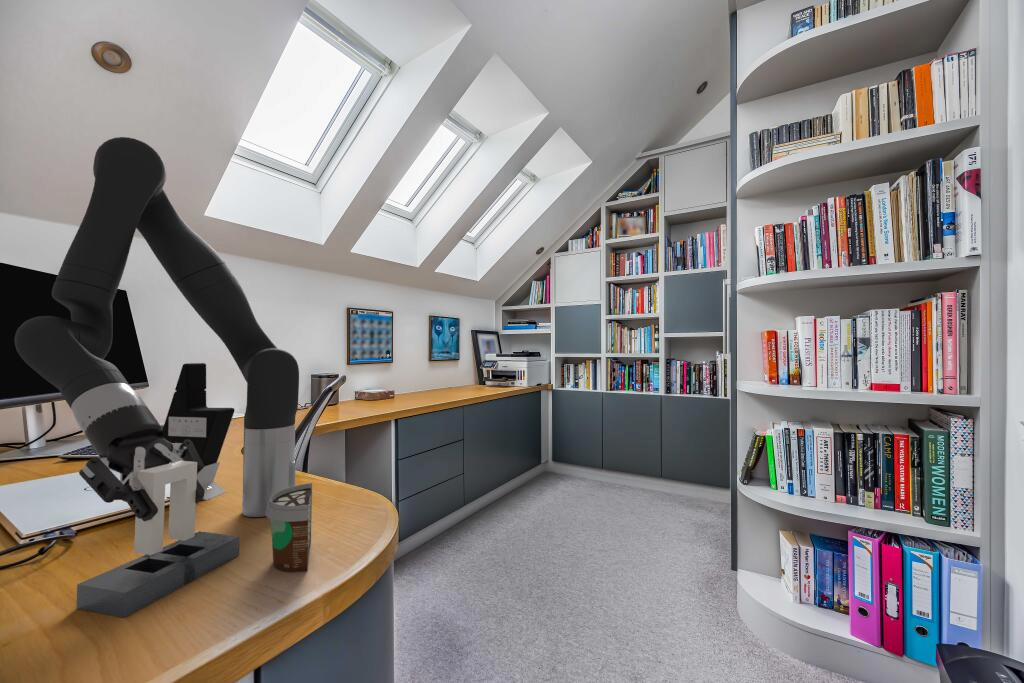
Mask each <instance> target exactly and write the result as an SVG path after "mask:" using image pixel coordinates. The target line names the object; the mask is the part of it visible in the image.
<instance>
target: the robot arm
mask: <svg viewBox="0 0 1024 683" xmlns="http://www.w3.org/2000/svg"><path fill="white" fill-rule="evenodd" d="M92 166H93V167H92V170H93V177H94V184H93V188H92V193H91V196H90V199H89V203H88V206H87V208H86V211H85V213H84V216H83V218H82V221H81V222H80V225H79V226H78V229H77V231H76V234H75V235H74V237H73V239H72V241H71V244H70V245H69V248H68V250H67V253H66V255H65V256H64V259H63V262H62V264H61V266H60V269H59V271H58V274H57V276H56V278H55V281H54V283H53V286H52V290H51V296H52V298H53V300H55V301H56V302H57V303H59V304H61V305H62V306H64V307H65V308H67V309H68V310H69V312H70V319H71V320H69V319H66V318H62V317H57V316H52V315H43V316H42V315H40V316H39V315H38V316H35V317H32V318H29V319H28V320H27V319H26V320H25V321H24V322H23V323H22V324H21V325H20V326H18V328H17V330H16V332H15V335H14V346H15V349H16V353H18V355H19V357H20V358H21V359H22V360H23V361H24V362H25V363H26V364H27V365H28V366H29V367H30V368H31V369H32V370H33V371H35V372H36V373H37V374H38V375H40V376H41V377H42V378H43V379H44V380H46V382H48V383H50V384H51V385H53V386H54V387H55V388H57V390H58V391H59V393H60V394H61V396H62V397H63V399H64V400H65V402H66V404H67V405H68V406H69V408H70V409H71V412H72V414H73V416H74V418H75V419H74V420H76V423H77V425H78V427H79V428H80V430H81V431H82V433H83V434H84V436H85V438H86V439H87V440H88V441H89V443H90V445H91V446H92V448H93V449H94V451H95V452H96V454H97V456H98V457H97V456H95V457H90V458H89V460H87V461H86V463H85V464H84V465H83V467H81V469H80V470H79V472H78V474H79V476H80V477H81V478H82V479H83V480H84V481H85V483H87V484H88V485H89V487H90V488H91V489H92V490H93V491H94V492H95V493H96V494H97V495H98V497H100V498H101V500H102V501H103V502H105V503H113V502H115V501H123V502H125V503H127V505H128V506H129V508H130V509H131V511H132V512H133V514H134V515H135V516H134V517H135V518H136V517H138V518H139V519H141V518H142V520H143V521H148V520H151V519H152V518H153V517H154V516H155V515H156V514H157V512H158V508H157V506H156V505H155V503H154V502H153V501H152V500H151V498H150V497H149V495H148V494H147V492H146V491H145V490H141V488H142V484H141V482H140V481H139V479H138V478H137V473H138V471H141V470H145V469H149V468H153V467H158V466H162V465H166V464H170V463H174V462H178V461H191V462H197V474H198V473H199V472H200V471H201V470H202V469H203V468H204V464H203V462H202V460H201V458H200V456H199V454H198V452H197V450H196V448H195V446H194V444H193V442H192V441H191V440H188V439H187V440H185V441H184V442H183V443H171V442H169V441H167V440H166V439H165V438H164V437H163V431H162V430H163V427H162V426H161V424H160V423H159V421H158V420H157V419H156V417H155V416H154V414H153V413H152V411H151V410H150V409H149V407H148V406H147V404H146V402H145V401H144V400H143V398H142V397H141V396H140V395H139V393H137V391H135V390H134V389H133V387H131V385H130V384H129V382H128V381H127V379H126V378H125V376H124V375H123V374H122V372H121V371H120V370H119V369H118V367H117V366H116V365H115V364H113V363H111V361H110V362H109V361H107V360H105V358H106V357H107V356H108V353H109V352H110V350H111V348H112V346H113V345H112V344H113V332H114V331H113V328H114V327H113V326H114V325H113V323H114V322H113V320H114V319H113V314H114V313H113V311H114V310H113V302H114V300H115V298H116V294H117V292H118V289H119V286H120V283H121V281H122V277H123V274H124V271H125V268H126V265H127V261H128V258H129V253H130V251H131V246H132V243H133V239H134V236H135V233H136V229H137V231H138V232H139V233H140V234H141V236H142V237H143V238H144V240H145V241H146V243H147V245H148V247H149V248H150V249H151V251H152V253H153V255H154V256H155V257H156V259H157V260H158V262H159V263H160V265H161V267H162V268H163V269H164V271H165V273H166V274H167V275H168V276H169V278H170V280H172V283H173V284H175V286H176V288H177V289H178V290H179V291H180V293H181V294H182V296H183V297H184V298H185V300H186V301H187V302H188V303H189V305H190V306H191V307H192V308H193V310H194V311H195V312H196V314H198V315H199V317H200V318H201V319H202V320H203V322H204V323H205V324H206V325H208V327H209V328H210V329H211V330H212V331H213V333H215V334H216V335H217V337H218V338H219V339H220V340H221V341H222V343H223V344H224V346H225V347H226V348H227V351H228V352H229V353H230V356H232V358H233V360H234V362H235V363H236V365H237V367H238V369H239V370H240V373H241V375H242V376H243V379H244V380H245V381H246V406H245V412H244V417H243V452H242V453H243V457H242V459H243V464H242V501H241V502H242V503H241V507H242V509H241V510H242V512H241V513H242V515H243V516H245V517H249V518H260V517H261V518H262V517H267V516H266V515H265V513H266V509H267V505H268V502H269V500H270V498H271V496H272V495H273V494H275V493H276V492H278V491H281V490H283V489H286V488H289V487H293V486H296V461H295V458H296V457H295V455H296V453H295V452H296V450H295V449H296V415H297V412H298V408H299V394H300V392H299V391H300V390H299V388H300V369H299V365H298V362H297V360H296V358H295V356H294V355H292V354H291V353H290V352H288V351H286V350H285V349H281V348H278V347H277V346H276V345H275V344H274V342H272V340H271V339H270V338H269V337H268V335H267V334H266V333H265V331H264V330H263V329H262V327H261V326H260V324H259V323H258V321H257V319H256V316H255V315H254V313H253V310H252V308H251V306H250V303H249V300H248V298H247V296H246V293H245V292H244V290H243V288H242V286H241V284H240V283H239V281H238V279H237V278H236V276H235V275H234V273H233V272H232V270H231V269H230V267H229V266H228V265H227V263H226V262H225V260H224V259H223V257H222V256H221V255H220V253H218V252H217V251H216V250H215V249H214V248H213V247H212V246H211V245H210V244H209V243H208V242H207V241H206V240H204V238H202V237H201V236H200V235H199V234H197V233H196V232H195V231H194V230H193V229H192V228H191V227H190V226H189V225H188V224H187V223H186V222H185V220H184V219H183V218H182V217H181V216H180V214H179V212H178V211H177V209H176V208H175V206H174V205H173V203H172V201H171V200H170V198H169V196H168V194H167V192H166V190H165V189H164V186H165V183H166V181H167V168H166V164H165V162H164V160H163V158H162V157H161V155H160V154H159V153H158V151H156V150H155V148H153V147H152V146H150V145H149V144H148V143H146V142H144V141H143V140H138V139H136V138H132V137H127V136H126V137H125V136H120V137H119V136H118V137H113V138H111V139H108V140H105V141H104V142H103V143H102V144H101V145H100V146H98V148H97V149H96V152H95V155H94V159H93V165H92ZM113 471H114V472H116V473H119V474H120V475H119V478H118V477H117V476H116V475H115V474H114V472H113ZM204 493H205V491H204V489H203V487H202V486H201V484H200V483H199V481H198V480H197V483H196V497H195V503H196V504H198V503H199V502H201V500H203V499H202V498H203V497H204Z"/></svg>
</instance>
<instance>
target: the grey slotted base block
mask: <svg viewBox="0 0 1024 683" xmlns="http://www.w3.org/2000/svg"><path fill="white" fill-rule="evenodd" d="M238 556H240V536H239V535H232V534H231V535H230V534H225V533H223V534H222V533H216V532H207V531H198V532H197V531H196V532H195V535H194V537H192V538H190V539H188V540H185V541H182V540H176V541H174V542H172V543H169V544H167V545H164V546H163V550H162V551H160V552H157V553H155V554H153V555H146V554H143V555H142V556H140V557H139V556H138V557H137V558H134V559H132V560H130V561H128V562H126V563H124V564H123V563H122V564H120V565H119V566H116V567H114V568H112V569H110V570H107V571H105V572H103V573H100V574H97V575H96V576H93V577H90V578H88V579H86V580H84V581H81V582H80V583H77V584H76V609H77V610H82V611H88V612H93V613H98V614H103V615H108V616H112V617H118V618H127V617H128V616H131V615H132V614H134V613H136V612H138V611H140V610H141V609H143V608H145V607H146V606H147V607H148V605H150V604H152V603H154V602H155V601H158V600H160V599H161V598H163V597H165V596H166V595H169V594H171V593H172V592H175V591H176V590H178V589H181V588H182V587H183V586H185V585H187V584H189V583H190V582H191V583H192V582H193V581H195V580H196V579H199V578H200V577H201V576H204V575H205V574H207V573H209V572H211V571H213V570H215V569H217V568H219V567H221V566H222V565H224V564H226V563H227V562H230V561H231V560H233V559H235V558H236V557H238Z"/></svg>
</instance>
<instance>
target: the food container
mask: <svg viewBox="0 0 1024 683" xmlns="http://www.w3.org/2000/svg"><path fill="white" fill-rule="evenodd" d="M312 499H313V482H308V483H303V484H298V485H295V486H293V487H289V488H286V489H283V490H281V491H278V492H276V493H275V494H273V495H272V496H271V498H270V500H269V502H268V505H267V509H266V513H265V515H266V516H265V517H267V519H270V531H271V544H272V546H271V547H272V561H273V562H272V563H273V564H272V565H273V567H274V568H275V569H276V570H277V571H279V572H284V573H303V572H307V571H308V570H309V563H310V555H311V547H312V514H313V513H312V508H313V507H312V506H313V500H312Z"/></svg>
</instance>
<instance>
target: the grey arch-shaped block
mask: <svg viewBox="0 0 1024 683" xmlns="http://www.w3.org/2000/svg"><path fill="white" fill-rule="evenodd" d="M137 478H138V479H139V481H140V482H141V484H142V488H141V490H145V491H146V492H147V494H148V495H149V497H150V498H151V500H152V501H153V502H154V503H155V505H156V506H157V508H158V512H157V514H156V515H155V516H154V517H153V518H152V519H151V520H148V521H143V520H142V518H141V519H139V518H138V517H136V516H135V520H134V521H135V522H134V541H133V542H134V544H133V546H134V547H133V553H134V554H140V555H153V554H155V553H157V552H160V551H162V550H163V547H164V527H165V525H164V524H165V502H166V485H168V484H170V488H169V490H170V491H169V495H170V497H169V508H168V509H169V510H168V511H169V512H168V534H167V536H168V539H169V540H176V541H178V540H182V541H185V540H188V539H190V538H192V537H194V535H195V533H196V531H195V530H196V529H195V528H196V508H197V506H196V504H197V503H195V497H196V483H197V462H191V461H178V462H174V463H169V464H166V465H162V466H158V467H153V468H149V469H145V470H141V471H138V473H137Z"/></svg>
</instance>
